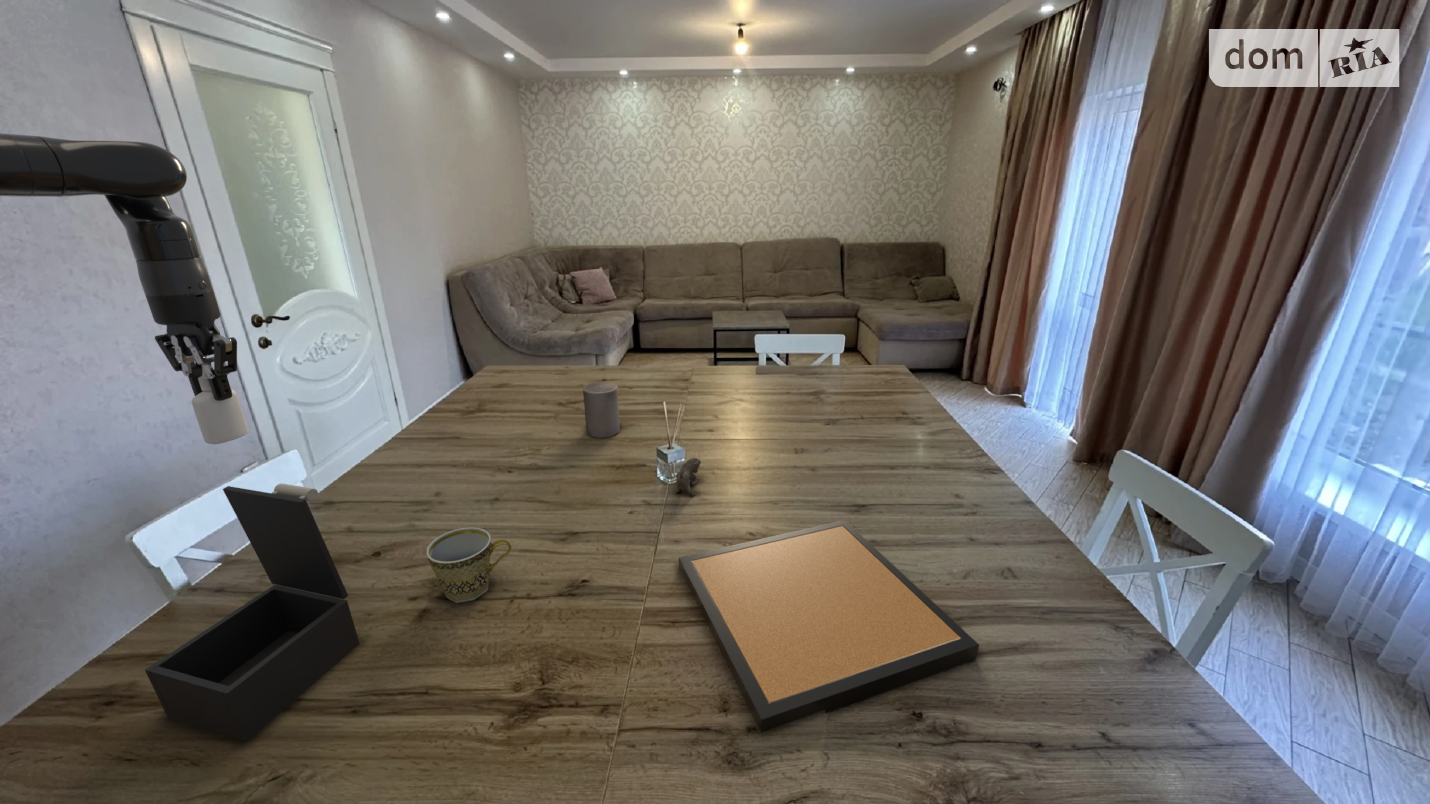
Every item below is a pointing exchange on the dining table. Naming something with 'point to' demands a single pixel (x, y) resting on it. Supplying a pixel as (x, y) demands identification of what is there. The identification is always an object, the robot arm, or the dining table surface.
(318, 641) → the black box
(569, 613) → the dining table surface
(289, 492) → the box lid
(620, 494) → the dining table surface
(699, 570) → the cork board
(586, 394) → the pillar candle
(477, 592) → the ceramic cup
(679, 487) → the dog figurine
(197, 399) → the eye dropper bottle
